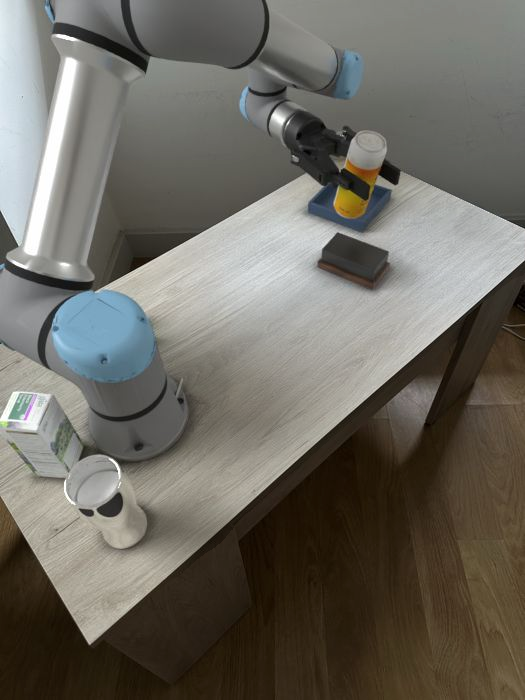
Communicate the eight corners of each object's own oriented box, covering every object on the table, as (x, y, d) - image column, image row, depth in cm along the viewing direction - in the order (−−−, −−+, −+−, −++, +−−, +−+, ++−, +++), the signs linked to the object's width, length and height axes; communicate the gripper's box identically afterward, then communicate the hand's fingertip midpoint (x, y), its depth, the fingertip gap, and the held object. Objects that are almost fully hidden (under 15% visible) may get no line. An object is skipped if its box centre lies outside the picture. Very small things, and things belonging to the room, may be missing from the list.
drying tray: (307, 212, 113) (308, 202, 111) (337, 182, 119) (338, 171, 117) (362, 232, 108) (363, 222, 106) (390, 199, 114) (392, 189, 112)
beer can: (362, 224, 96) (386, 156, 83) (330, 216, 96) (349, 147, 83) (366, 202, 99) (390, 133, 86) (335, 194, 99) (355, 125, 86)
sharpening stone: (317, 267, 102) (318, 249, 98) (334, 247, 105) (336, 229, 102) (372, 290, 97) (375, 272, 94) (389, 268, 101) (392, 250, 97)
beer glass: (130, 492, 74) (100, 441, 62) (161, 525, 71) (135, 478, 59) (89, 527, 71) (50, 481, 60) (119, 563, 68) (84, 522, 56)
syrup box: (49, 442, 80) (10, 389, 68) (86, 445, 79) (53, 392, 68) (36, 476, 76) (-8, 427, 65) (74, 480, 76) (36, 430, 64)
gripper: (335, 132, 105) (419, 183, 93) (258, 165, 99) (337, 226, 87) (337, 94, 99) (428, 145, 87) (256, 128, 93) (341, 187, 81)
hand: (382, 185), depth 87 cm, fingers closed on beer can, 6 cm apart
